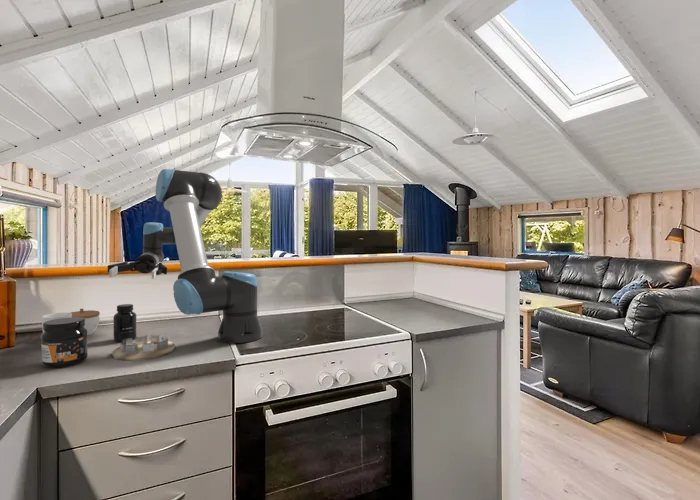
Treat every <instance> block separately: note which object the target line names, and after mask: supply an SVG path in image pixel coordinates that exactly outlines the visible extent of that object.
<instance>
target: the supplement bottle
mask: <svg viewBox="0 0 700 500" xmlns="http://www.w3.org/2000/svg"><path fill="white" fill-rule="evenodd" d="M112 321H113V341H114V342H116V343H121V342H122V341H123V340H125V339H128V338H132V341H134V340H136V336H137V314H136V312H134V305H133V304H132V303H125V304H123V303H122V304H118V305H116V313H114V315H113V320H112Z"/></svg>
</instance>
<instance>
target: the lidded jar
mask: <svg viewBox="0 0 700 500" xmlns="http://www.w3.org/2000/svg"><path fill="white" fill-rule="evenodd" d="M70 313H72V317H81V318H84V319H85V326H84V327H85V328H86V329H87V336H90V335H92V334H93V333H94V332H95V331H96V330H97V328H98V327H99V325H100V324H99V322H100V314H101V313H100V311H99V310H90V309H89V310H84V308H80V309H79V310H78V311H71V312H70Z"/></svg>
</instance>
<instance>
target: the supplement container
mask: <svg viewBox="0 0 700 500" xmlns="http://www.w3.org/2000/svg"><path fill="white" fill-rule="evenodd" d="M84 326H85V319H84V318H81V317H69V318H59V319H53V320H49V321H46V322H44V323H43V330H42V333H41V335H40V342H41V365H42V366H43V367H45V368H49V369H61V368H68V367H73V366H75V365H78V364H82V363H83V362H84V361H86V360H87V358H88V357H89V355H88V354H89V353H88V335H87V329H86V328H85V327H84ZM43 331H44V332H43Z"/></svg>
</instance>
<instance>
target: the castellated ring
mask: <svg viewBox="0 0 700 500" xmlns="http://www.w3.org/2000/svg"><path fill="white" fill-rule="evenodd" d="M147 337H148V336H147V334H143V335H136V339H135V343H136V345H133V343H134V342H133V341H134V340H132V338H128V339H125V340H123V341H122V342H119V347H120V351H121V353H126V354H128V355H136V354H138V345H140V344H145V345H142V353H143V354H147V353H153V352H154V343H157V350H163V349H165V348H167V346H168V341H169V338H168V337H169V336H167V335H162V334H151V335H150V341H151V344H146V343H147V341H148V338H147Z"/></svg>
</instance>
